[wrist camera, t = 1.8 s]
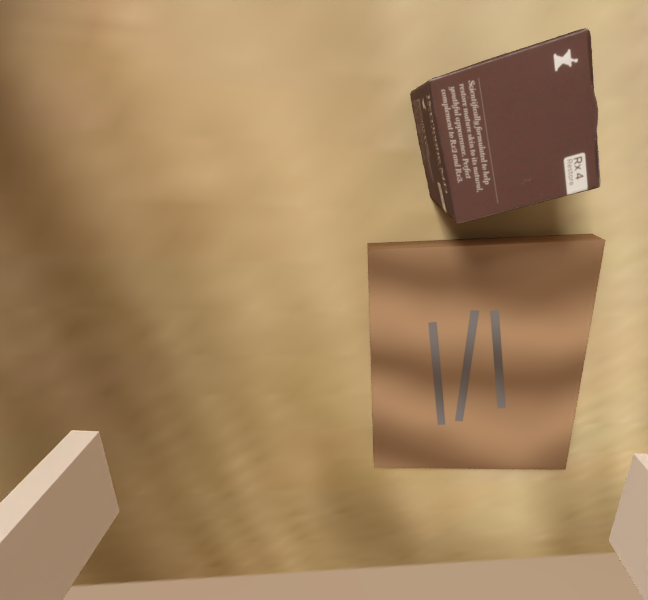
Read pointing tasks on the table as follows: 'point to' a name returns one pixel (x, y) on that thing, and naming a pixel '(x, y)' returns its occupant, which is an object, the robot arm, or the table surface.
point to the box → (511, 129)
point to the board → (479, 349)
